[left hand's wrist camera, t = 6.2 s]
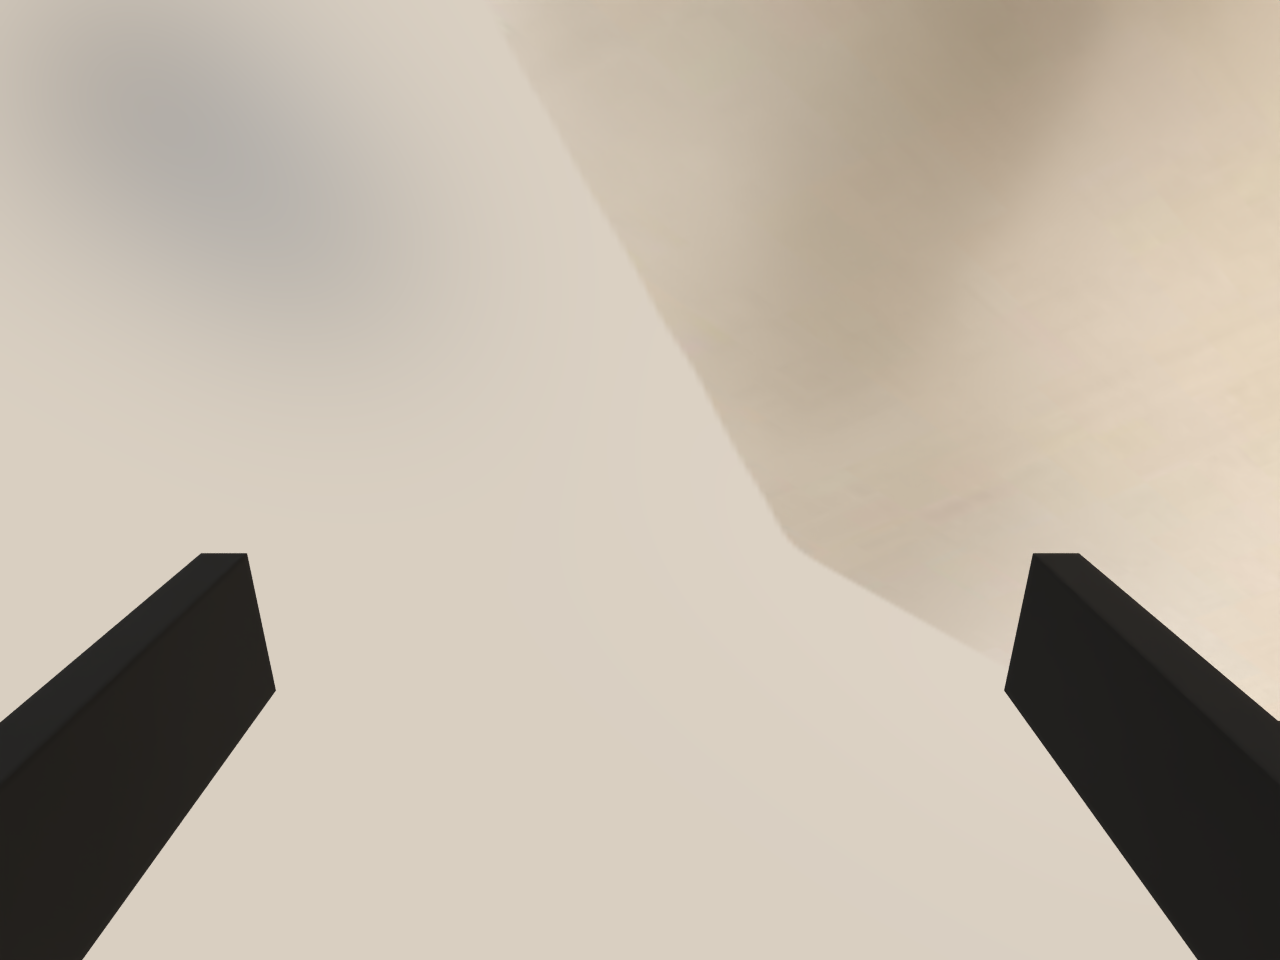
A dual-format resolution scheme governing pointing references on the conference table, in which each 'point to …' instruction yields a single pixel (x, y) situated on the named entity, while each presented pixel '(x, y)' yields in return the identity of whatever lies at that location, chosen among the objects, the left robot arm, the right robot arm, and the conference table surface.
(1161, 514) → the conference table surface
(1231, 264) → the conference table surface
